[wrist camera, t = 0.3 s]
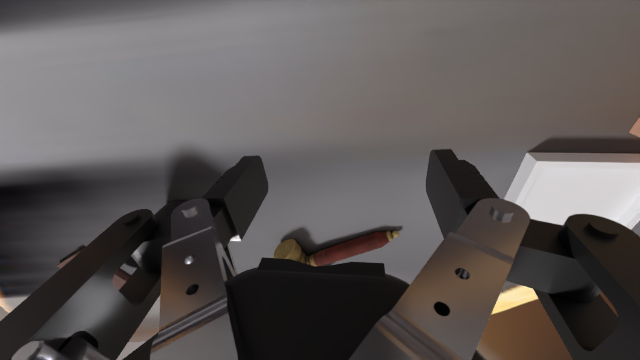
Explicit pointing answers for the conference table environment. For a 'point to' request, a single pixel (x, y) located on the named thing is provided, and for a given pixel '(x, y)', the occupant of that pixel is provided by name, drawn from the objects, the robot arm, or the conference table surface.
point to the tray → (578, 186)
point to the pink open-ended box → (636, 128)
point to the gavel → (334, 249)
